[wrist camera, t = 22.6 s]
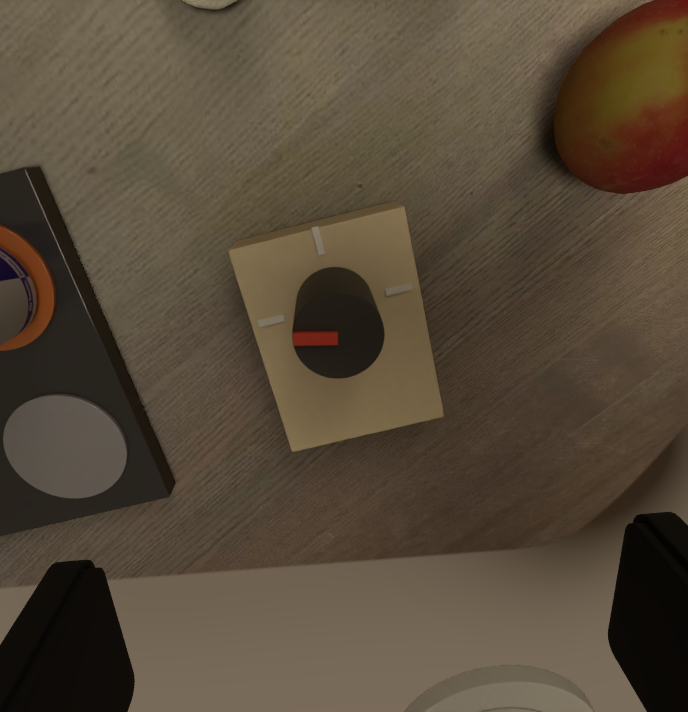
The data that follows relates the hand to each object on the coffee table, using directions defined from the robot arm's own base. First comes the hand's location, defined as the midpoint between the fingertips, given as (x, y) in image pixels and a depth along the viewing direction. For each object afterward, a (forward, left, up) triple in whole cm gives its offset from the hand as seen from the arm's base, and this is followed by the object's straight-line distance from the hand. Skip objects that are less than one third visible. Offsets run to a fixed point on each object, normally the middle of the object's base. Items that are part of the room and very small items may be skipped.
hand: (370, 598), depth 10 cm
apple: (+6, -16, -22) cm, 28 cm away
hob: (0, +22, -22) cm, 31 cm away
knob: (0, 0, -19) cm, 19 cm away
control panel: (-2, 0, -22) cm, 22 cm away
